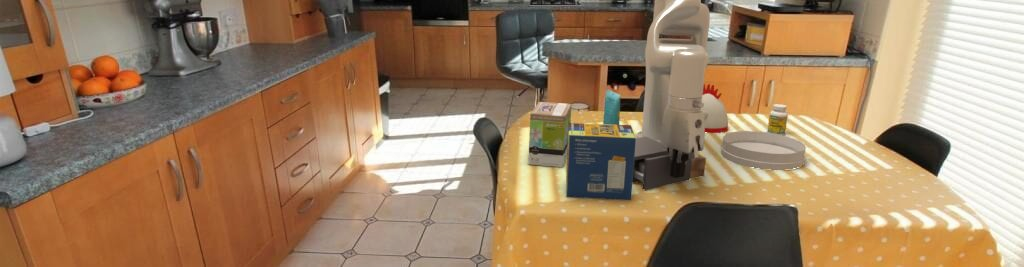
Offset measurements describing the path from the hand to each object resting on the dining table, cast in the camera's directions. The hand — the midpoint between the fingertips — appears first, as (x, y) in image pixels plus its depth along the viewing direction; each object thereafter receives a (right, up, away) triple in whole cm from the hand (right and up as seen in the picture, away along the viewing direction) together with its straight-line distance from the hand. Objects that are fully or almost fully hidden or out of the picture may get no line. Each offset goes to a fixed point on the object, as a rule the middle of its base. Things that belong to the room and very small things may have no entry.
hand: (677, 176), depth 134 cm
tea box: (-29, +3, +23) cm, 37 cm away
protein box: (-19, -4, 0) cm, 20 cm away
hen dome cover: (+26, +12, +55) cm, 62 cm away
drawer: (-4, -1, +8) cm, 9 cm away
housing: (-7, 0, +13) cm, 15 cm away
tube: (-12, +3, +23) cm, 26 cm away
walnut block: (+7, 0, +11) cm, 13 cm away
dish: (+32, +3, +25) cm, 41 cm away
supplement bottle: (+47, +10, +48) cm, 68 cm away
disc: (-4, +1, +8) cm, 9 cm away
